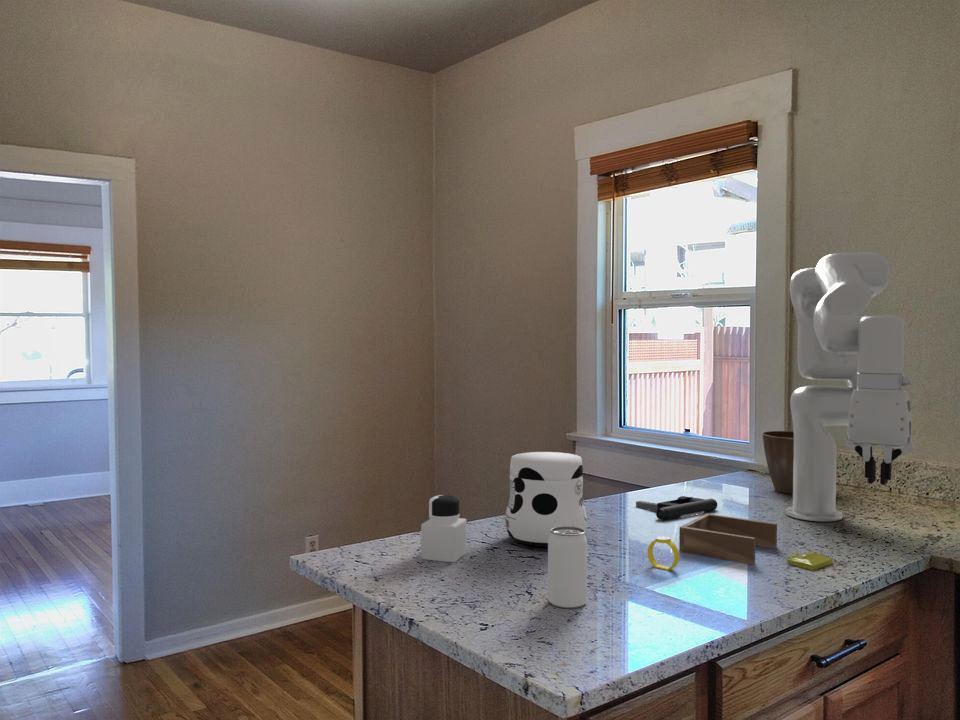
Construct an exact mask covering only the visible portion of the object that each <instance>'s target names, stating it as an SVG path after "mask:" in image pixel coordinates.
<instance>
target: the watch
mask: <svg viewBox="0 0 960 720" xmlns="http://www.w3.org/2000/svg"><path fill="white" fill-rule="evenodd" d="M656 543H659V544H667V545H668V546H669V547H670V549H671V551H672V553H673V558H674V559H673V563H672V565H671V566H666V565H662V564H659V563H658V561H656V560H655V557H654V554H653V553H654V552H653V551H654V546H655V545H656ZM647 557H648V560H649V562H650V564H651V565H652V566H653V568H654V569H659V568H660V570H664V571H667V572H669V571H671V570H673V569H674V568H676V567H677V566H678V564H679V561H680V551H679V548H678V547H677V546H676V544H675V543H674V542H673V541H672V540H671V537H670V536H666V535H664V536H663V535H659V536H655V540H652V541H650V544H649V545H648V547H647Z"/></svg>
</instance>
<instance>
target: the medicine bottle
mask: <svg viewBox="0 0 960 720" xmlns="http://www.w3.org/2000/svg"><path fill="white" fill-rule="evenodd" d="M467 520H468V519H466V518H461V517H460V499H459V498H458V497H456V496H455V495H449V494H439V495H434V496H433V497H431V498H430V499H429V501H428V520H426V521H425V522H423V523H421V525H420V526H421V527H420V530H421V531H420V532H421V534H420V535H421V536H420V539H421V541H420V547H421V549H420V550H421V551H420V552H421V553H420V554H421V555H420V556H421V557H420V558H421V560H424V561H434V562H444V563H452V564H453V563H456V562H457V561H458V560H459V559H461V558H462V557H464V556H465V555H466V554H467V552H468V549H467V548H468V547H467V546H468V545H467V544H468V540H467V539H468V537H467V532H468V531H467V530H468V529H467V528H468V521H467Z"/></svg>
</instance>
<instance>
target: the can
mask: <svg viewBox="0 0 960 720" xmlns="http://www.w3.org/2000/svg"><path fill="white" fill-rule="evenodd" d="M584 533H585V534H586V531H584V530H583V529H581V528H577V527H568V526H564V527H555V528H553V529H551V534H550V536H549V539H548V546H547V601H548V602H549V603H550V604H551V605H552V606H553V607H556V608H561V609H578V608H581V607H584V606H585V605H586V603H587V602H588V539H587V537H586V535H585V534H584Z"/></svg>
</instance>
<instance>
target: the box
mask: <svg viewBox="0 0 960 720" xmlns="http://www.w3.org/2000/svg"><path fill="white" fill-rule="evenodd" d="M678 537H679V540H678V541H679V542H678V543H679V544H678V551H679V552H680V551H681V553H685V552H687V554H691V553H692V555H696V554H698V555H697V556H702V555H703V557H708V556H709V557H708V558H713V557H715V558H714V559H719V558H720V560H725V561H732V562H735V561H736V563H742V564H748V565H755V564H756V546H757V545H758V547H763V546H764V547H765V548H771V549H777V548H778V523H777V522H776V523H775V522H768V521H761V520H755V519H747V518H741V517H735V516H729V515H720V514H715V513H714V514H713V513H708V512H705V513H704V514H701V515H700V516H699V517H697V518H695V519H693V520H690V521H688V522H687V523H685V524H683V525H681V526H679V536H678Z"/></svg>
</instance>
